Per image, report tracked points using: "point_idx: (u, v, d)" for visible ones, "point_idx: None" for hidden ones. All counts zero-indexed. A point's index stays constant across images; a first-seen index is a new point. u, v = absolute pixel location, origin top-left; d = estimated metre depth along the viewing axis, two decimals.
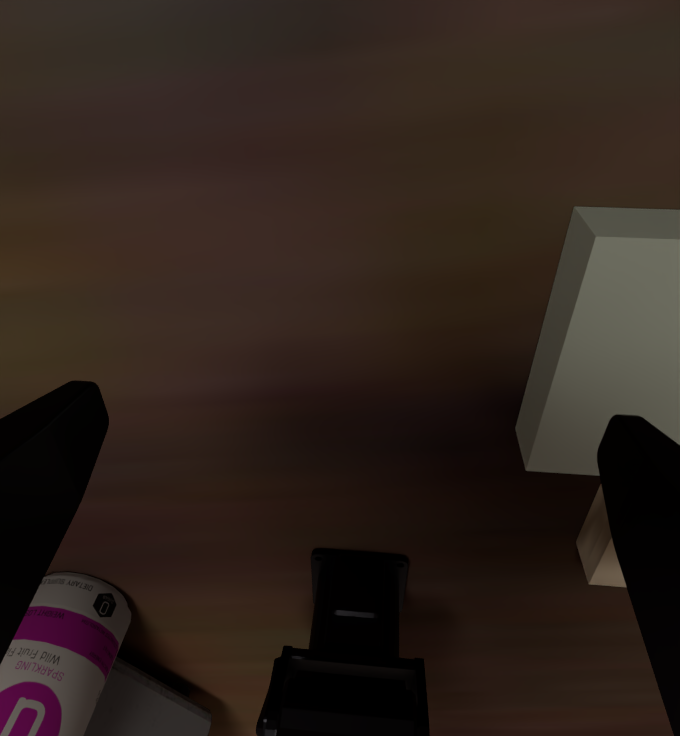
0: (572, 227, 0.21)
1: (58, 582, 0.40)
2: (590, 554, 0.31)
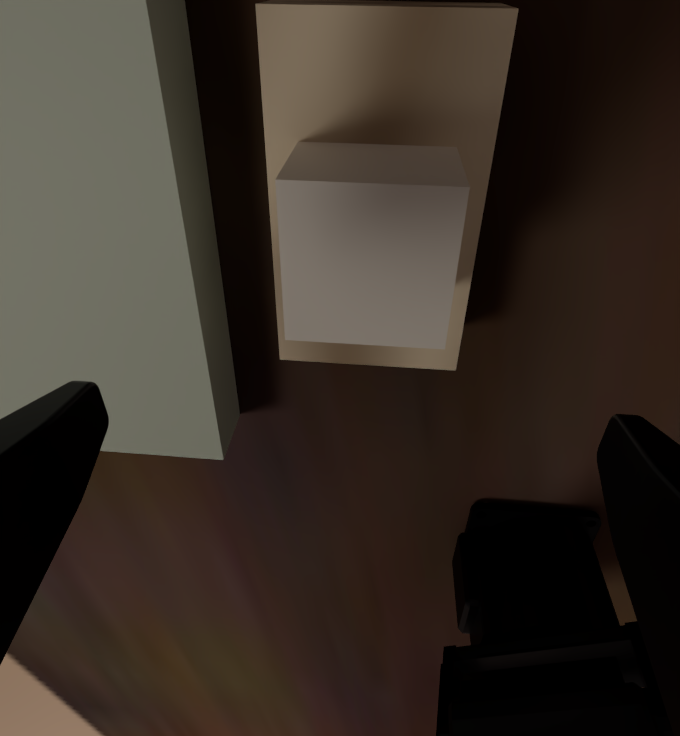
0: None
1: None
2: None
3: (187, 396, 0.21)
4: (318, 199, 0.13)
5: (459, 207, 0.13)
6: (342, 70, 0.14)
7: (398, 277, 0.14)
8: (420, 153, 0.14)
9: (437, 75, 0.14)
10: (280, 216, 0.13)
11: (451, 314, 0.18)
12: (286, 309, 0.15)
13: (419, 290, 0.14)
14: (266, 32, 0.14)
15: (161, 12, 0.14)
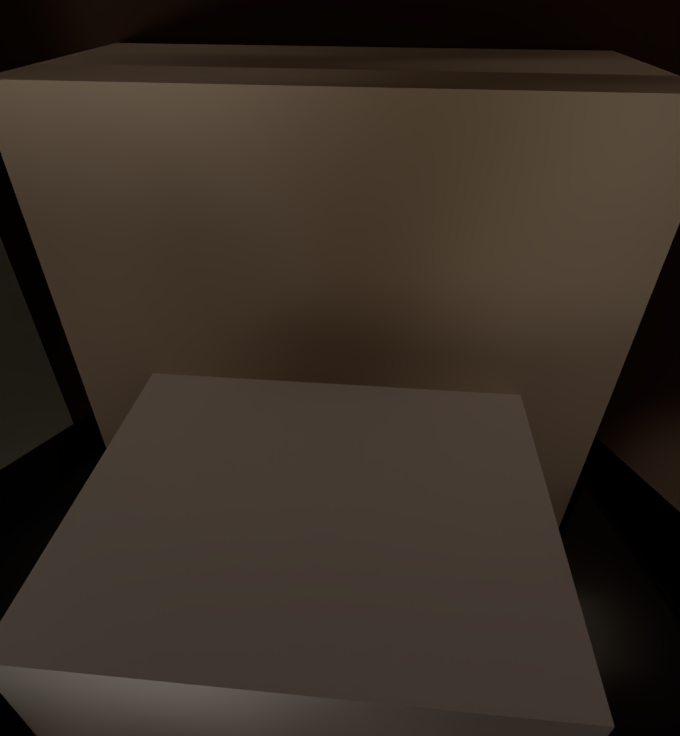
0: None
1: None
2: None
3: None
4: (122, 701, 0.04)
5: None
6: (233, 238, 0.06)
7: None
8: (435, 436, 0.06)
9: (479, 254, 0.05)
10: (28, 712, 0.04)
11: None
12: None
13: None
14: (22, 150, 0.05)
15: None
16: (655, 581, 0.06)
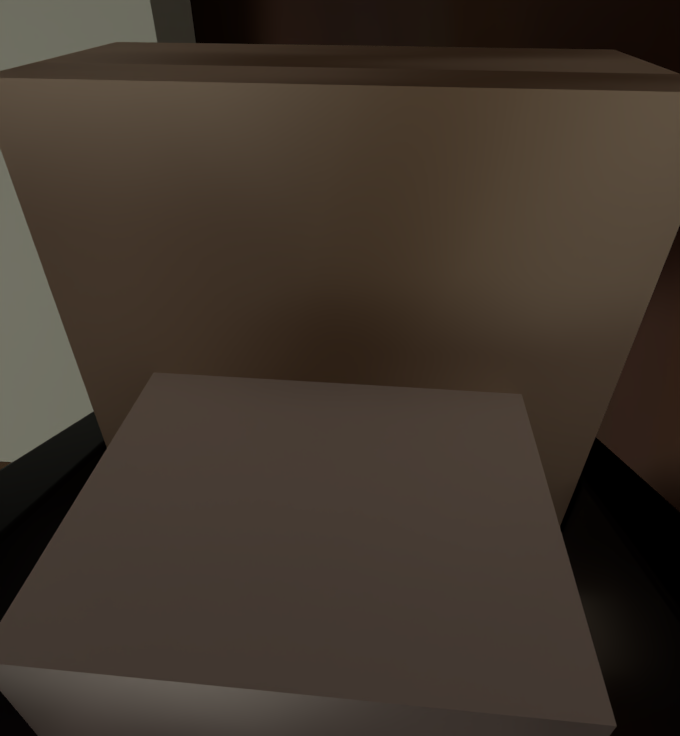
0: None
1: None
2: None
3: None
4: (124, 700, 0.04)
5: None
6: (233, 237, 0.06)
7: None
8: (436, 435, 0.06)
9: (480, 254, 0.05)
10: (28, 711, 0.04)
11: None
12: None
13: None
14: (23, 148, 0.05)
15: (167, 22, 0.14)
16: (655, 581, 0.06)
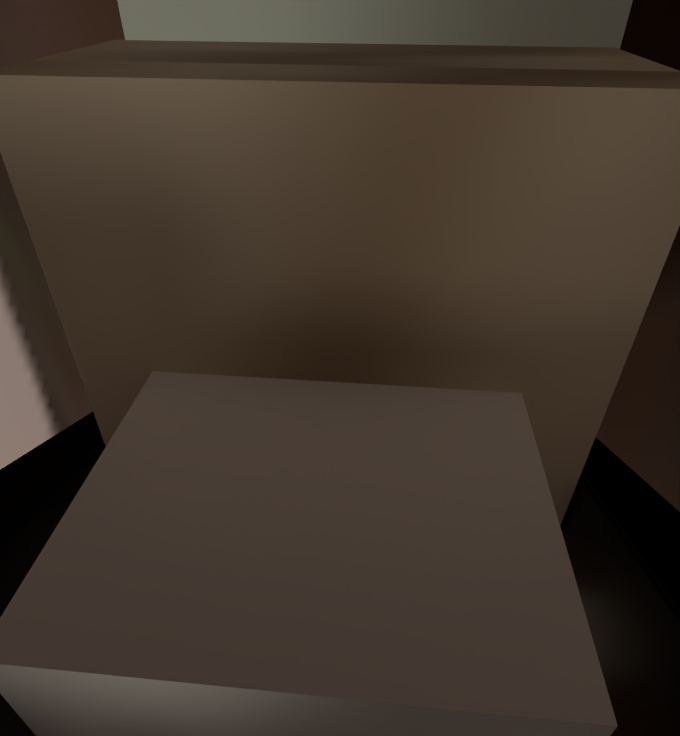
0: None
1: None
2: None
3: None
4: (122, 701, 0.04)
5: None
6: (233, 236, 0.05)
7: None
8: (436, 434, 0.06)
9: (481, 251, 0.05)
10: (26, 711, 0.04)
11: None
12: None
13: None
14: (21, 146, 0.05)
15: None
16: (655, 581, 0.06)
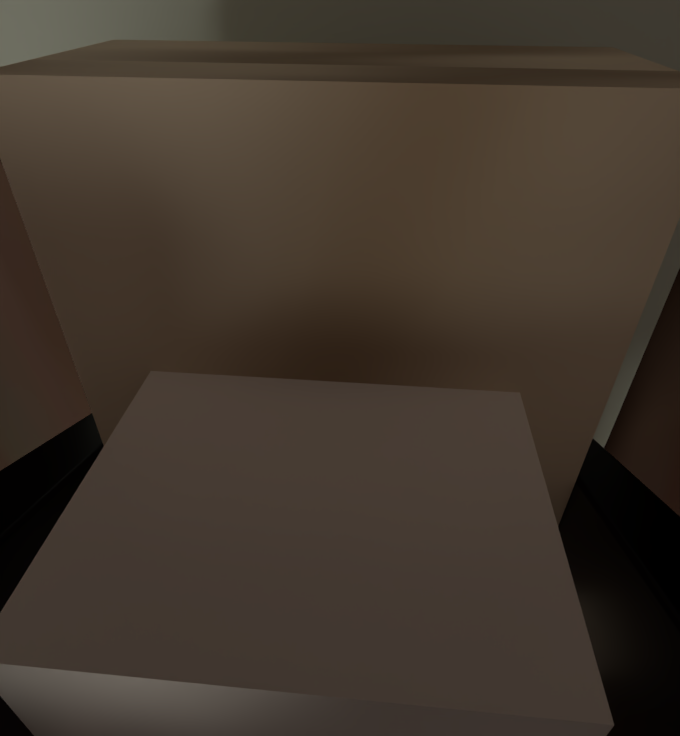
0: None
1: None
2: None
3: None
4: (120, 698, 0.04)
5: None
6: (230, 236, 0.05)
7: None
8: (434, 433, 0.06)
9: (478, 250, 0.05)
10: (24, 710, 0.04)
11: None
12: None
13: None
14: (18, 146, 0.05)
15: None
16: (649, 581, 0.06)
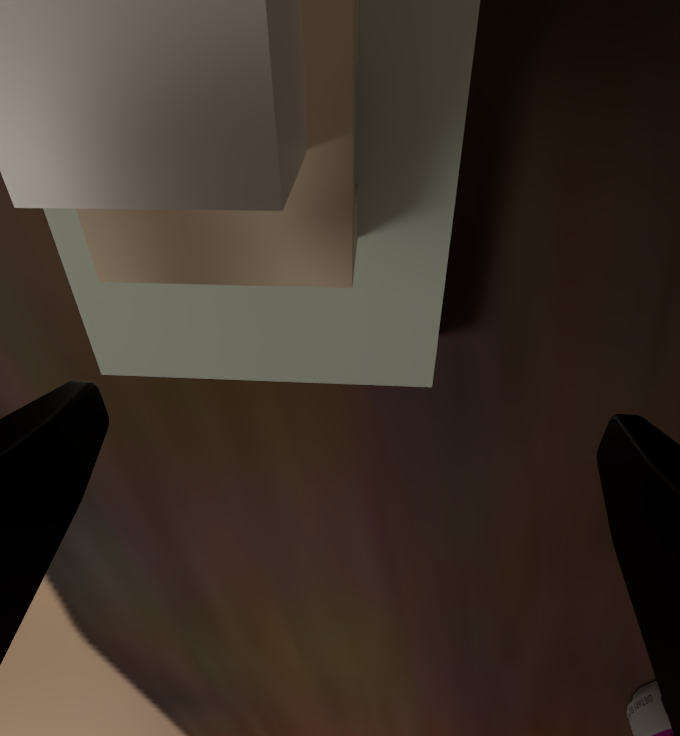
0: None
1: (631, 712, 0.38)
2: None
3: (409, 300, 0.17)
4: None
5: None
6: None
7: (165, 58, 0.07)
8: None
9: None
10: None
11: (331, 194, 0.12)
12: None
13: (210, 87, 0.08)
14: None
15: None
16: None
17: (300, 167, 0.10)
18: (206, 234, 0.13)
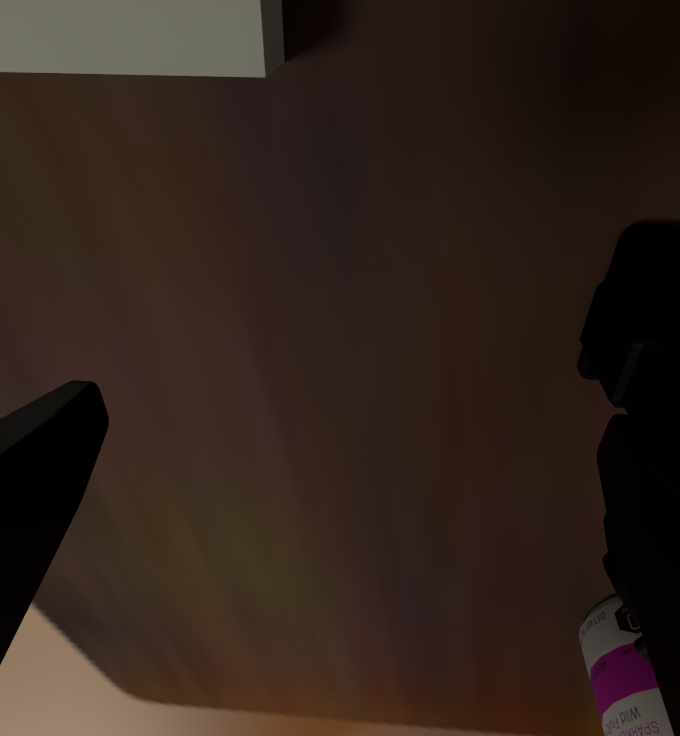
0: None
1: (582, 635, 0.33)
2: None
3: None
4: None
5: None
6: None
7: None
8: None
9: None
10: None
11: None
12: None
13: None
14: None
15: None
16: None
17: None
18: None
